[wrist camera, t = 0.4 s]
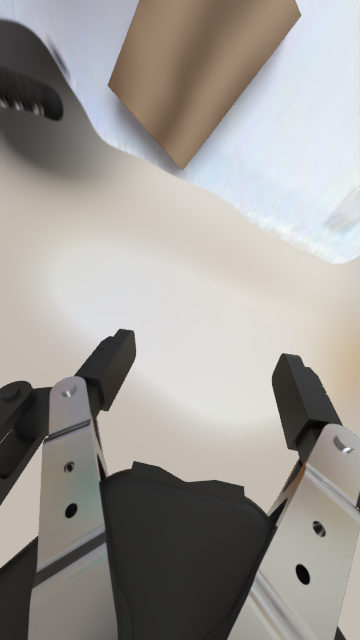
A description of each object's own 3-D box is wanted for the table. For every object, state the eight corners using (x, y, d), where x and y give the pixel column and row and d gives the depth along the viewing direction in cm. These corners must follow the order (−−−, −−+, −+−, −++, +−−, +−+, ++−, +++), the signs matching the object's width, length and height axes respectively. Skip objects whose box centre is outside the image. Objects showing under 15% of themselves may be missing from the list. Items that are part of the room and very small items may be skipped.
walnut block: (123, 83, 25) (107, 85, 22) (217, -144, 15) (214, -200, 12) (187, 160, 30) (182, 170, 27) (290, 24, 20) (301, 15, 17)
